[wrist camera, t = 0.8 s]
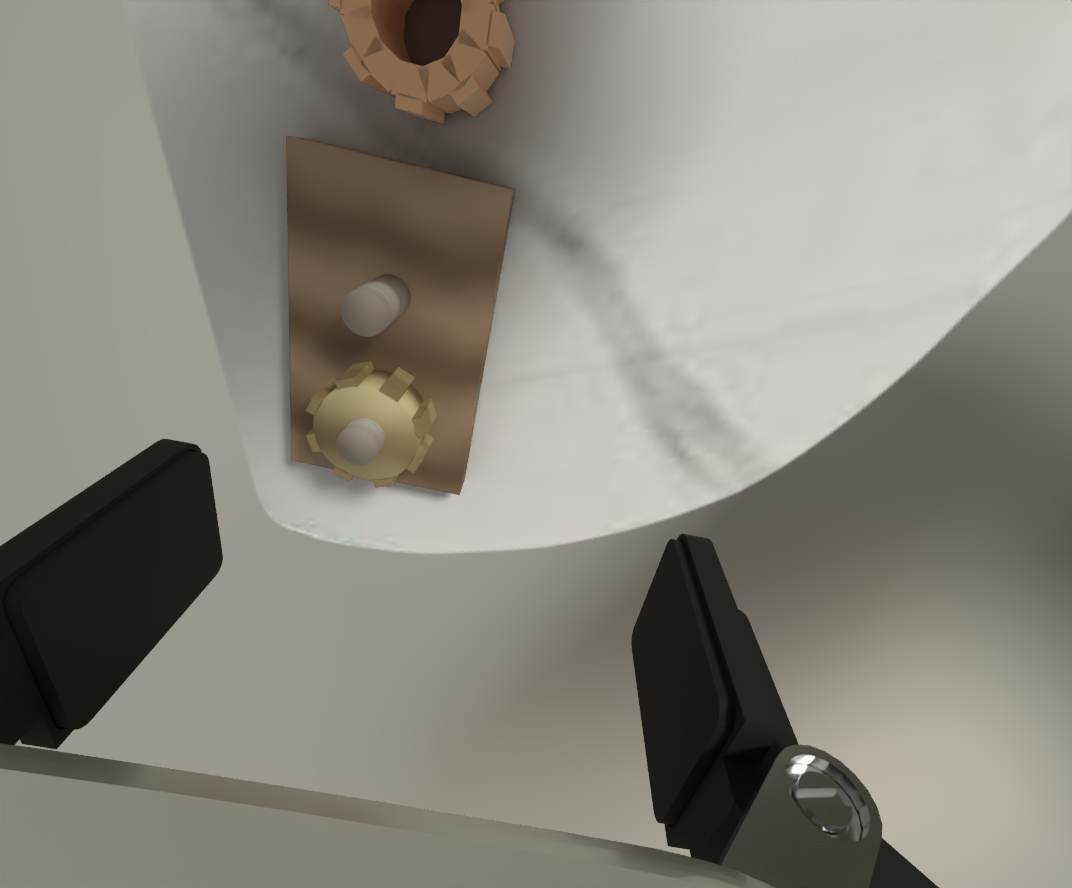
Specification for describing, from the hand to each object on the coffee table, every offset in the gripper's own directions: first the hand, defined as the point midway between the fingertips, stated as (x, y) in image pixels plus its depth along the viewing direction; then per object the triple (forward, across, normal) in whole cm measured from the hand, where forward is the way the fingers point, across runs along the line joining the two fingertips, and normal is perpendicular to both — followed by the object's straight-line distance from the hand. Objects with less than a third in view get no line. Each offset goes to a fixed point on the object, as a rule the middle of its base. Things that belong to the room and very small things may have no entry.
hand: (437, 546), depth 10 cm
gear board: (+24, +8, +4) cm, 26 cm away
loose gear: (+24, +6, -12) cm, 28 cm away
